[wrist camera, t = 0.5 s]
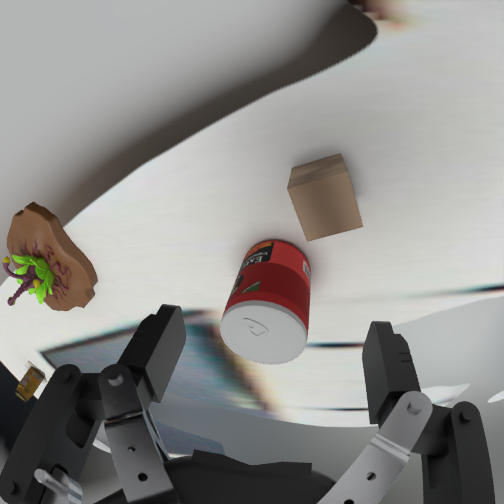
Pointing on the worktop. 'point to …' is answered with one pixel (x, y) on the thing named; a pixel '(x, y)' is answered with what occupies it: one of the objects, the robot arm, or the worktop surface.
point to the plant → (48, 261)
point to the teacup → (102, 439)
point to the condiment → (30, 382)
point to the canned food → (269, 305)
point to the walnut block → (324, 198)
